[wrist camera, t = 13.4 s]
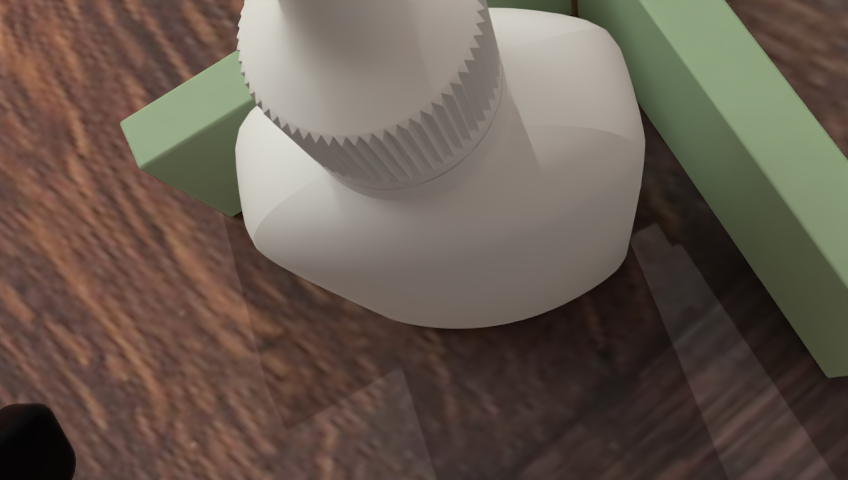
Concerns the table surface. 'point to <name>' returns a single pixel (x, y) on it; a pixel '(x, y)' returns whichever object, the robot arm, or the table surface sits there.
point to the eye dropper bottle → (438, 154)
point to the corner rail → (672, 117)
